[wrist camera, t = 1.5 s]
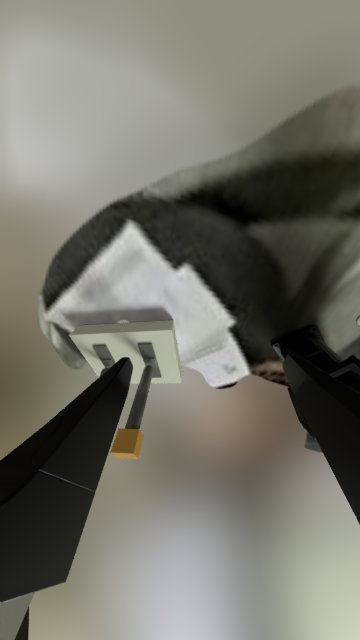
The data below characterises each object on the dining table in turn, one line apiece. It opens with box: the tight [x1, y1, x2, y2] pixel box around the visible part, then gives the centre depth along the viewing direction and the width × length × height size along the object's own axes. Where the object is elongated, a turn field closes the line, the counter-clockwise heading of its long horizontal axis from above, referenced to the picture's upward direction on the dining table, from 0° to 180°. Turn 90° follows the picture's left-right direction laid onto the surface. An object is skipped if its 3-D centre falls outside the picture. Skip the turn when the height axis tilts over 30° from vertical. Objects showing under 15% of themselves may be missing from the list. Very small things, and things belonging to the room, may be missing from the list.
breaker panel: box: [69, 320, 182, 384], centre depth 21 cm, size 16×13×14 cm
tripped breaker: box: [111, 365, 154, 459], centre depth 19 cm, size 2×2×11 cm
